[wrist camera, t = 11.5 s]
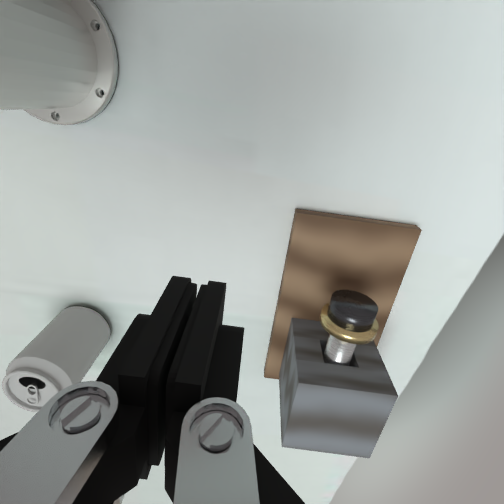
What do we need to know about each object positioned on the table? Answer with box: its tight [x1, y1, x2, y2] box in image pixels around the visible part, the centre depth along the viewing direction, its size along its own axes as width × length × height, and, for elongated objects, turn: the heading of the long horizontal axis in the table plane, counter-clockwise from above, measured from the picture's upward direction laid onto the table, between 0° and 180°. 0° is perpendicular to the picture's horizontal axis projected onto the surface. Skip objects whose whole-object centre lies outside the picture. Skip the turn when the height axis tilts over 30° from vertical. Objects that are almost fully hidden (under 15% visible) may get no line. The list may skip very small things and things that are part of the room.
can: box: [2, 306, 110, 412], centre depth 40 cm, size 8×8×12 cm
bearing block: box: [264, 209, 421, 458], centre depth 36 cm, size 25×14×12 cm, turn 173°
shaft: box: [320, 290, 379, 366], centre depth 37 cm, size 19×6×6 cm, turn 173°
